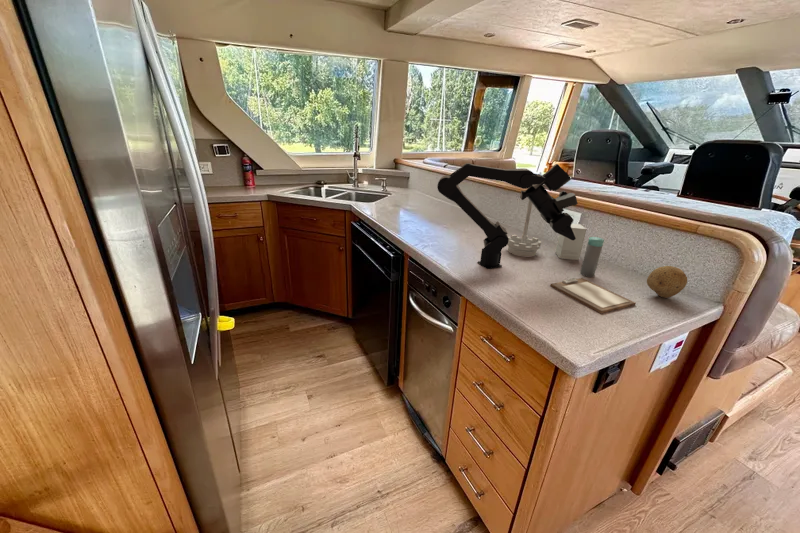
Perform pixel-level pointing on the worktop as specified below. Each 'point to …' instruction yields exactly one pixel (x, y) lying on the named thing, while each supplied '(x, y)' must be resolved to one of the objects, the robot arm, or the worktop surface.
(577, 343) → the worktop surface
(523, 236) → the flag stand
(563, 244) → the supplement box
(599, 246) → the green-topped grey cylinder
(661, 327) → the worktop surface
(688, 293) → the worktop surface
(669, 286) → the brown potato
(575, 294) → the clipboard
